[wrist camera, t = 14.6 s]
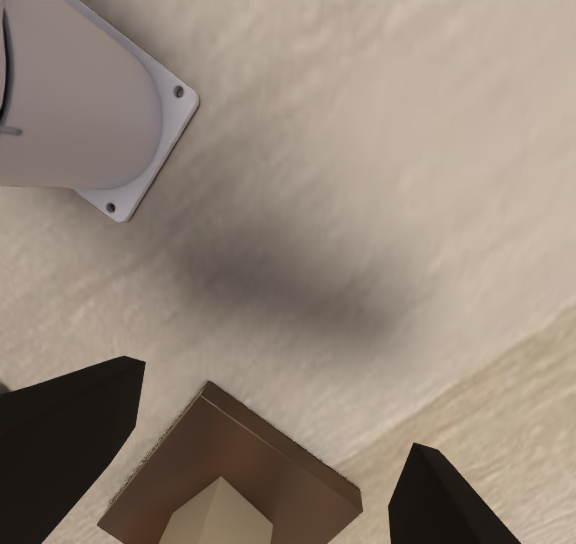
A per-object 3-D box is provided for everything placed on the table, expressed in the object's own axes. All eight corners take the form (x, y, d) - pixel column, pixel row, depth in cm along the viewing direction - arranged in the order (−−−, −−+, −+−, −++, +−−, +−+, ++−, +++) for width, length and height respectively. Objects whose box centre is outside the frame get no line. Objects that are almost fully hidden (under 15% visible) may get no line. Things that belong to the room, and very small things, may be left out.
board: (109, 505, 23) (95, 525, 22) (209, 380, 20) (200, 394, 19) (244, 596, 24) (240, 622, 23) (360, 490, 21) (363, 511, 20)
